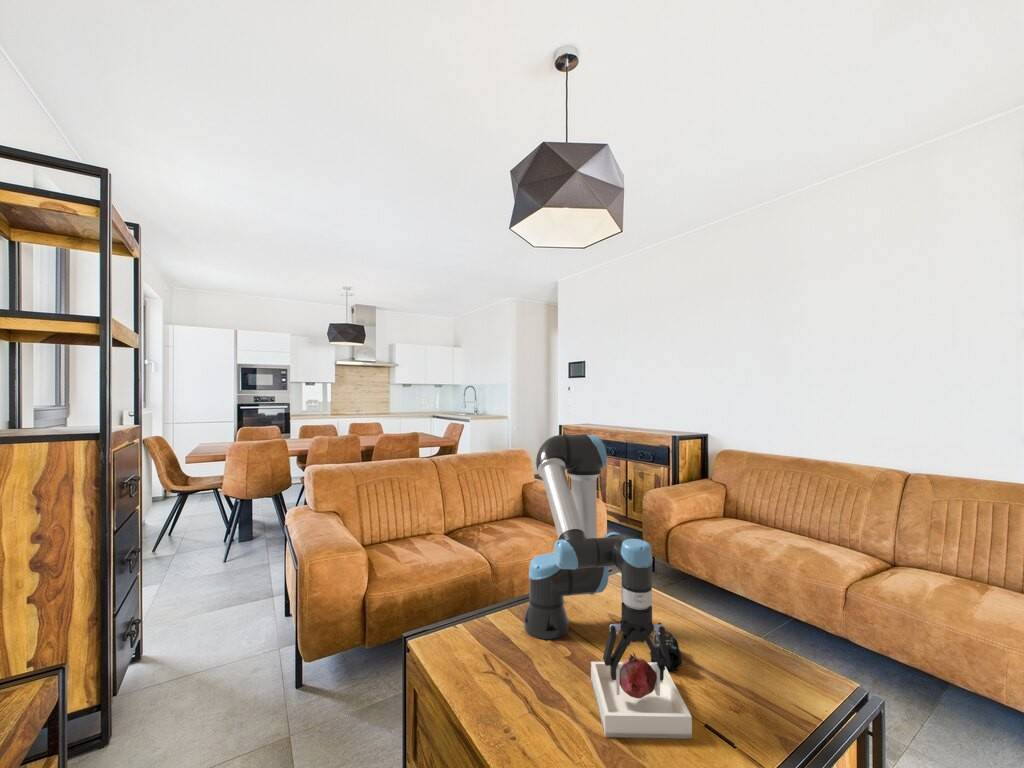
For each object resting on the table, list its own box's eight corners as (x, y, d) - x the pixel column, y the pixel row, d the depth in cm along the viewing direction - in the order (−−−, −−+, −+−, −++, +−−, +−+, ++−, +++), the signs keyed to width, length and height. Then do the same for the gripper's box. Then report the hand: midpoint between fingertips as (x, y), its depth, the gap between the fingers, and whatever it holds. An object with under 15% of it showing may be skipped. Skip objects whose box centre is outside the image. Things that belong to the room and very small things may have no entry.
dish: (605, 737, 101) (605, 715, 101) (591, 679, 121) (591, 661, 121) (691, 738, 101) (691, 716, 101) (663, 680, 121) (663, 662, 121)
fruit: (663, 693, 111) (663, 654, 111) (642, 711, 104) (642, 670, 105) (632, 675, 118) (631, 638, 118) (611, 692, 111) (610, 652, 111)
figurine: (646, 651, 125) (649, 619, 139) (654, 678, 125) (656, 644, 139) (677, 649, 122) (677, 617, 136) (686, 678, 122) (684, 642, 136)
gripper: (595, 610, 108) (595, 701, 108) (685, 611, 107) (686, 703, 107) (590, 595, 115) (590, 681, 115) (674, 596, 115) (675, 682, 115)
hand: (636, 691), depth 111 cm, fingers closed on fruit, 9 cm apart
